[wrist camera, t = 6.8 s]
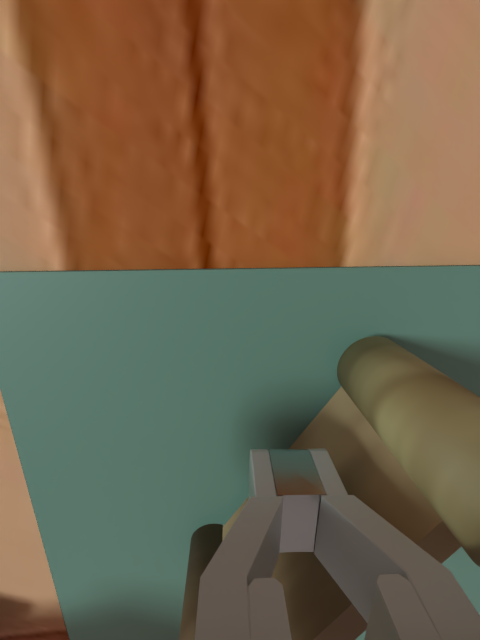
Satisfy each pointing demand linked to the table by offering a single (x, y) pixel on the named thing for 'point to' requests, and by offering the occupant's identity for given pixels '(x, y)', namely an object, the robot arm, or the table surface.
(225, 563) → the robot arm
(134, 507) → the board
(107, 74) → the table surface
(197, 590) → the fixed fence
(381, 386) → the swing panel
